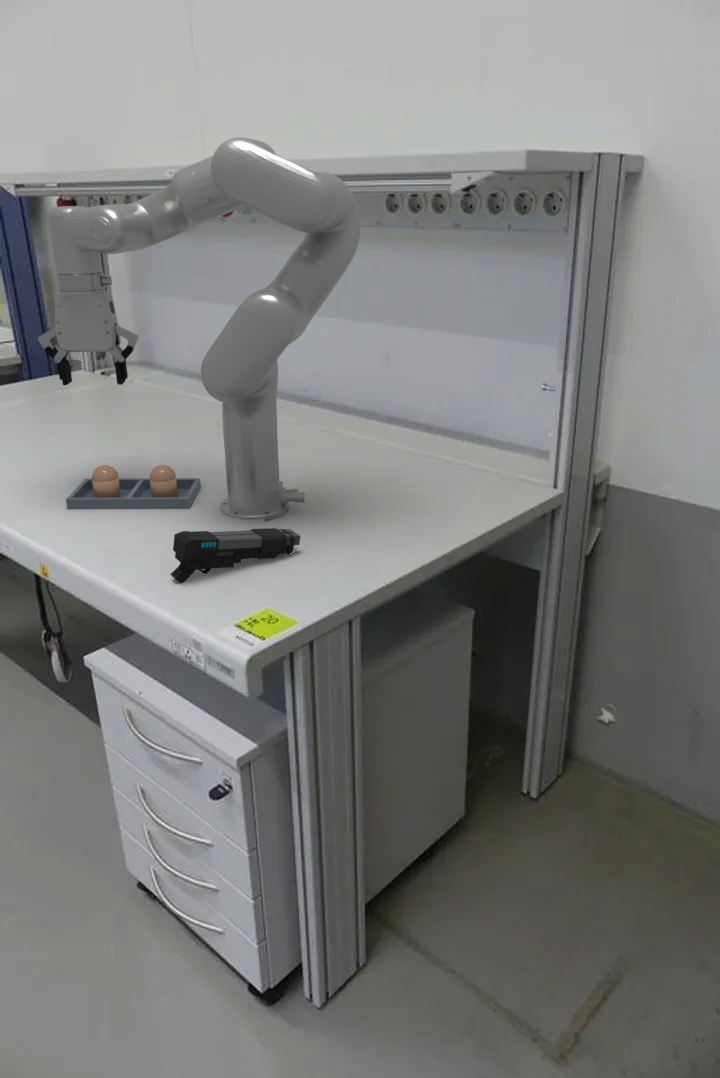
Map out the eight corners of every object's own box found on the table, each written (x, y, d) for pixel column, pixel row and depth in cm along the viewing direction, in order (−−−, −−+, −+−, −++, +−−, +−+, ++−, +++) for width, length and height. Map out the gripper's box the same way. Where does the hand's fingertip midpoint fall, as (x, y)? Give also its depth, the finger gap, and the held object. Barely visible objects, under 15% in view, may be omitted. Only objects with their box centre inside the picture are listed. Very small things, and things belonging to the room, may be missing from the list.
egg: (123, 493, 155) (120, 461, 153) (117, 502, 151) (113, 469, 148) (98, 493, 155) (94, 461, 153) (91, 502, 151) (87, 469, 148)
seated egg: (180, 493, 155) (177, 461, 153) (175, 502, 151) (171, 469, 148) (155, 493, 155) (151, 461, 153) (149, 502, 151) (145, 469, 148)
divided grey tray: (201, 490, 159) (200, 478, 158) (190, 511, 148) (188, 498, 147) (87, 490, 158) (85, 478, 157) (67, 512, 148) (65, 499, 147)
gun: (163, 576, 122) (178, 513, 120) (273, 584, 135) (289, 528, 133) (175, 587, 119) (190, 523, 117) (287, 594, 131) (303, 536, 129)
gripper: (136, 281, 142) (147, 378, 148) (37, 282, 141) (53, 379, 148) (126, 285, 135) (138, 387, 141) (22, 286, 134) (39, 388, 141)
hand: (94, 383), depth 145 cm, fingers open, 9 cm apart
